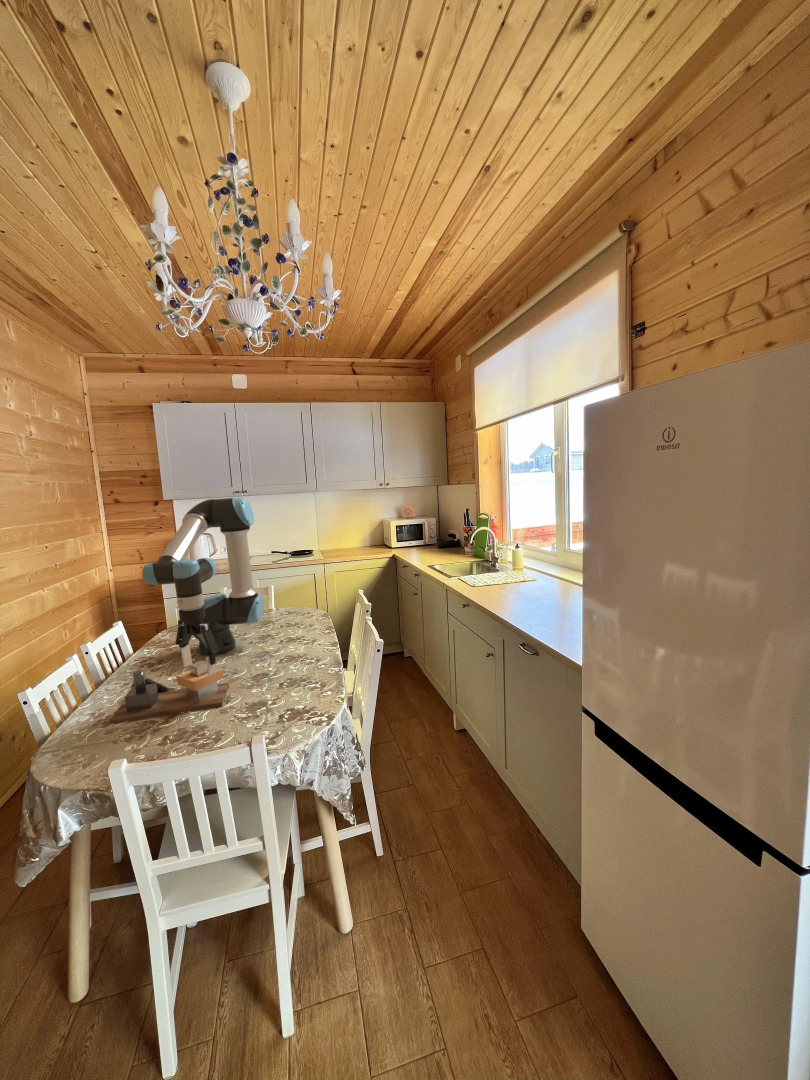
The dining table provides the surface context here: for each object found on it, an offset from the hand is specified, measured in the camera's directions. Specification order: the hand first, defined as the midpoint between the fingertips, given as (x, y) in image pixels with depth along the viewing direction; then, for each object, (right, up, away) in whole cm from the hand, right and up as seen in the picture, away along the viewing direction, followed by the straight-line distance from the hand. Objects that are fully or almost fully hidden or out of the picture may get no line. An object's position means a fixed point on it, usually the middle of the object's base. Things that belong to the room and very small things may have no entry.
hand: (199, 669), depth 145 cm
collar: (0, -4, 0) cm, 4 cm away
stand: (-17, -11, -3) cm, 20 cm away
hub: (+1, -9, +1) cm, 9 cm away
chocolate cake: (-20, -11, +8) cm, 24 cm away
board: (-8, -11, -1) cm, 14 cm away
